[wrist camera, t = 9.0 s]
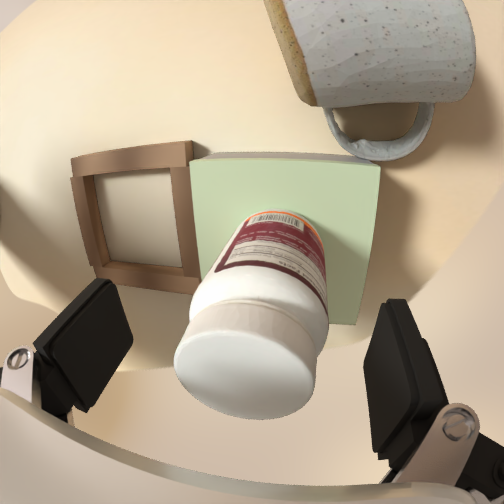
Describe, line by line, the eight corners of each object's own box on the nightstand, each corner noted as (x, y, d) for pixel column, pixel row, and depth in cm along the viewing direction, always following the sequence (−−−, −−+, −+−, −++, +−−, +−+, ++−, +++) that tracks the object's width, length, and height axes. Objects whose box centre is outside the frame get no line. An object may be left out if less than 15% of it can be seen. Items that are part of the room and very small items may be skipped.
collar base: (102, 273, 23) (94, 280, 22) (77, 156, 19) (67, 159, 18) (210, 287, 21) (205, 296, 20) (197, 140, 17) (190, 141, 16)
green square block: (223, 279, 21) (206, 312, 17) (214, 152, 17) (189, 161, 13) (349, 288, 19) (355, 324, 16) (364, 156, 15) (380, 167, 12)
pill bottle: (278, 304, 16) (247, 437, 9) (214, 248, 15) (135, 364, 8) (344, 254, 14) (363, 393, 7) (277, 186, 13) (228, 282, 6)
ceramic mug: (267, 10, 12) (237, -50, 5) (393, -6, 10) (436, -60, 3) (318, 168, 16) (324, 208, 10) (439, 148, 14) (510, 177, 7)
